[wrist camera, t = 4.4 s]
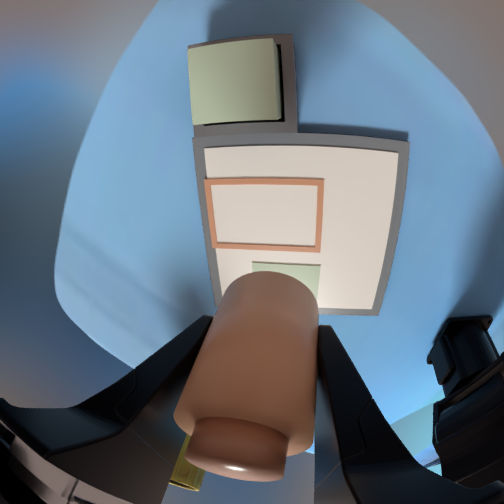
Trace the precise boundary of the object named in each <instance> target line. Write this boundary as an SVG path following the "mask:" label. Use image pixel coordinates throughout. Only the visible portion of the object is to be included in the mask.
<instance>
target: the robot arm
mask: <svg viewBox="0 0 504 504" xmlns="http://www.w3.org/2000/svg"><path fill="white" fill-rule="evenodd" d="M213 318H214V317H213V316H208V315H203V316H201V317H200V318H199V319H198V320H196V321H195V322H194V323H192V324H191V325H190V326H189V327H187V328H186V329H185V330H184V331H182V332H181V333H180V334H178V335H177V336H176V337H175V338H173V339H172V340H171V341H169V342H168V343H167V344H166V345H164V346H163V347H162V348H160V349H159V350H158V351H157V352H155V353H154V354H153V355H151V356H150V357H149V358H147V359H146V360H145V361H144V362H142V363H141V364H140V365H138V366H137V367H136V368H135V369H133V370H132V371H130V372H129V373H128V374H126V375H125V376H124V377H122V378H121V379H119V380H118V381H117V382H115V383H113V384H112V385H110V386H109V387H107V388H106V389H104V390H102V391H101V392H99V393H97V394H95V395H94V396H92V397H90V398H89V399H87V400H85V401H83V402H82V403H80V404H78V405H75V406H73V407H69V408H20V407H16V406H13V405H10V404H9V403H8V402H7V401H6V400H5V399H4V398H0V420H1V421H2V422H3V423H4V424H5V425H6V426H7V427H8V428H9V429H10V430H9V429H8V428H7V427H6V426H5V425H3V424H2V423H1V422H0V504H161V502H162V500H163V497H164V494H165V491H166V489H167V486H168V484H169V481H170V478H171V476H172V473H173V470H174V467H175V464H176V462H177V459H178V456H179V454H180V451H181V448H182V446H183V443H184V440H185V438H186V435H187V433H186V432H184V431H183V430H182V429H181V428H180V427H179V426H178V425H177V424H176V422H175V420H174V417H173V414H174V411H175V408H176V406H177V404H178V401H179V399H180V396H181V394H182V392H183V389H184V387H185V384H186V382H187V380H188V377H189V375H190V373H191V370H192V368H193V365H194V363H195V361H196V358H197V356H198V354H199V351H200V349H201V346H202V344H203V342H204V339H205V337H206V335H207V332H208V330H209V328H210V325H211V323H212V321H213ZM492 321H493V318H492V316H490V315H489V316H477V317H462V318H450V319H448V320H447V322H446V324H445V326H444V328H443V330H442V332H441V334H440V336H439V338H438V340H437V341H436V343H435V345H434V347H433V349H432V351H431V353H430V354H429V356H428V358H427V364H433V366H434V370H435V373H436V377H437V381H438V384H439V385H442V387H443V391H444V394H445V398H444V399H442V400H440V401H437V402H436V403H434V404H433V405H434V406H433V439H432V443H433V445H434V448H435V450H436V452H437V454H438V456H439V458H440V462H441V469H442V476H440V475H438V474H436V473H434V472H432V471H430V470H428V469H427V468H425V467H423V466H422V465H421V464H419V463H418V462H417V461H416V460H415V459H414V457H413V456H412V455H411V454H410V452H409V451H408V450H407V448H406V447H405V446H404V444H403V443H402V441H401V440H400V439H399V438H398V436H397V435H396V433H395V432H394V431H393V430H392V428H391V426H390V425H389V424H388V422H387V421H386V419H385V418H384V416H383V414H382V413H381V411H380V409H379V408H378V406H377V404H376V402H375V401H374V399H372V395H371V394H370V392H369V390H368V388H367V387H366V385H365V383H364V381H363V380H362V378H361V376H360V374H359V373H358V371H357V369H356V367H355V366H354V364H353V362H352V360H351V359H350V357H349V355H348V354H347V352H346V350H345V349H344V347H343V345H342V343H341V342H340V340H339V338H338V337H337V335H336V333H335V332H334V330H333V328H332V327H331V326H330V325H319V327H318V374H317V396H316V412H315V426H314V440H315V481H314V490H315V491H314V504H504V352H503V353H502V354H501V356H499V354H498V352H497V349H496V347H495V345H494V343H493V341H492V339H491V337H490V335H489V333H488V331H487V330H488V328H489V327H490V325H491V323H492Z"/></svg>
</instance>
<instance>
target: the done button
mask: <svg viewBox="0 0 504 504" xmlns="http://www.w3.org/2000/svg"><path fill="white" fill-rule="evenodd" d="M187 50H188V68H189V84H190V97H191V110H192V122H193V125H199V124H208V123H219V122H232V121H249V120H278V119H281V118H283V103H282V82H281V65H280V52H279V50H278V48H277V46H276V44H275V42H274V40H273V38H267V39H253V40H243V41H234V42H226V43H219V44H213V45H207V46H201V47H196V48H191V49H187Z"/></svg>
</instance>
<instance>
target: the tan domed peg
mask: <svg viewBox="0 0 504 504" xmlns="http://www.w3.org/2000/svg"><path fill="white" fill-rule="evenodd" d="M318 327H319V310H318V304H317V301H316V298H315V296H314V295H313V293H312V292H311V290H310V289H309V288H308V287H307V286H306V285H304V284H303V283H302V282H301V281H299V280H297V279H296V278H294V277H291V276H289V275H286V274H283V273H279V272H273V271H258V272H252V273H248V274H245V275H243V276H241V277H239V278H237V279H236V280H234V281H233V282H232V283H231V284H230V285H229V286H228V287H227V289H226V291H225V293H224V295H223V297H222V299H221V302H220V304H219V306H218V309H217V311H216V313H215V316H214V318H213V321H212V323H211V325H210V328H209V330H208V332H207V335H206V337H205V339H204V342H203V344H202V346H201V349H200V351H199V354H198V356H197V358H196V361H195V363H194V365H193V368H192V370H191V373H190V375H189V377H188V380H187V382H186V384H185V387H184V389H183V392H182V394H181V396H180V399H179V401H178V404H177V406H176V408H175V411H174V414H173V417H174V420H175V422H176V424H177V425H178V426H179V427H180V428H181V429H182V430H183V431H184V432H186V433H187V434H188V435H190V436H191V438H190V441H189V444H188V446H187V449H186V452H185V455H184V458H185V459H186V460H187V461H188V462H190V463H191V464H193V465H195V466H197V467H199V468H201V469H204V470H206V471H209V472H212V473H215V474H218V475H222V476H226V477H230V478H235V479H241V480H248V481H274V480H279V479H282V478H283V476H284V470H285V464H286V458H287V456H291V455H295V454H298V453H301V452H303V451H305V450H307V449H309V448H310V447H311V445H312V444H313V438H314V426H315V412H316V396H317V374H318Z"/></svg>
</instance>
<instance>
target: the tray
mask: <svg viewBox="0 0 504 504" xmlns="http://www.w3.org/2000/svg"><path fill="white" fill-rule="evenodd" d="M192 141H193V150H194V160H195V169H196V177H197V186H198V194H199V202H200V209H201V217H202V224H203V231H204V238H205V245H206V252H207V258H208V265H209V271H210V277H211V283H212V289H213V295H214V301H215V306H216V307H218V306H219V304H220V302H221V299H222V297H223V295H224V293H225V291H226V289H227V287H228V286H229V285H230V284H231V283H232V282H233V281H234V280H236V279H237V278H239V277H241V276H243V275H245V274H248V273H252V272H258V271H273V272H279V273H283V274H286V275H289V276H291V277H294V278H296V279H297V280H299V281H301V282H302V283H303V284H304V285H306V286H307V287H308V288H309V289H310V290H311V292H312V293H313V295H314V296H315V298H316V301H317V304H318V310H319V314H328V315H364V316H378V315H379V312H380V308H381V305H382V302H383V298H384V294H385V291H386V287H387V283H388V279H389V275H390V271H391V267H392V263H393V258H394V254H395V249H396V244H397V239H398V234H399V228H400V223H401V217H402V211H403V204H404V197H405V189H406V181H407V171H408V160H409V147H410V142H407V141H401V140H394V139H386V138H378V137H368V136H358V135H345V134H329V133H300V132H297V133H258V134H235V135H219V136H207V137H196V138H195V137H193V138H192Z"/></svg>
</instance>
